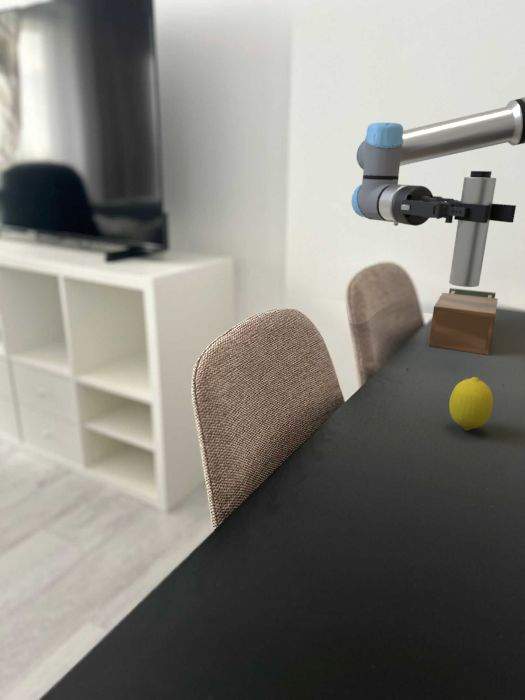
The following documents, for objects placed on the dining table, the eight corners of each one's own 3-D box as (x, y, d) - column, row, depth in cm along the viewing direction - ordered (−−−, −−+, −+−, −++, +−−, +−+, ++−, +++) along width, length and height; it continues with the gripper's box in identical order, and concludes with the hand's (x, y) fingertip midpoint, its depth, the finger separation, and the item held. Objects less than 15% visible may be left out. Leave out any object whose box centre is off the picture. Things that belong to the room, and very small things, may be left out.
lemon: (438, 429, 72) (446, 376, 69) (456, 417, 76) (464, 367, 73) (477, 444, 68) (487, 389, 66) (494, 430, 72) (504, 378, 69)
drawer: (446, 313, 130) (450, 286, 128) (491, 318, 126) (495, 291, 124) (439, 327, 117) (443, 298, 115) (488, 334, 113) (493, 304, 111)
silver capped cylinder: (464, 280, 94) (481, 171, 88) (485, 286, 90) (504, 171, 84) (443, 282, 92) (458, 170, 86) (463, 287, 88) (481, 170, 82)
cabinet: (437, 328, 120) (442, 292, 117) (491, 335, 115) (497, 298, 112) (428, 346, 107) (433, 306, 104) (488, 355, 103) (495, 313, 100)
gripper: (439, 223, 107) (535, 236, 87) (367, 224, 100) (453, 239, 80) (444, 185, 105) (544, 190, 85) (371, 184, 98) (460, 189, 78)
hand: (499, 214), depth 83 cm, fingers closed on silver capped cylinder, 5 cm apart
